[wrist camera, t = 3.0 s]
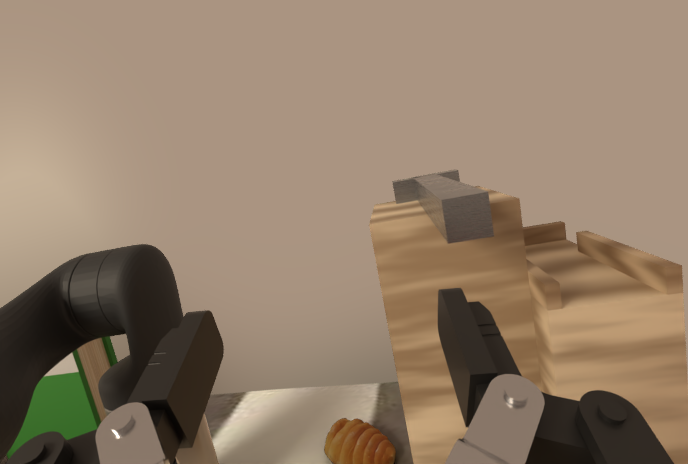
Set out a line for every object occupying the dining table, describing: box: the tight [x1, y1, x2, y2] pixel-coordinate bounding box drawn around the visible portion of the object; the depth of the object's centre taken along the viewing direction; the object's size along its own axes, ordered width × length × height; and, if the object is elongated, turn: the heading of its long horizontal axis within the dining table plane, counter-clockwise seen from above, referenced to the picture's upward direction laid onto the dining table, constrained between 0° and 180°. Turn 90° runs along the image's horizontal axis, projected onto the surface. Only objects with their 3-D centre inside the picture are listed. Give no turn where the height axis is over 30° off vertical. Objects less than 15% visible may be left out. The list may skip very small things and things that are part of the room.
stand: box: [369, 186, 688, 464], centre depth 39 cm, size 19×21×32 cm
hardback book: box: [7, 336, 117, 459], centre depth 63 cm, size 18×7×24 cm, turn 84°
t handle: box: [393, 170, 494, 244], centre depth 32 cm, size 24×7×2 cm, turn 174°
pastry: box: [324, 418, 396, 464], centre depth 50 cm, size 9×7×4 cm
